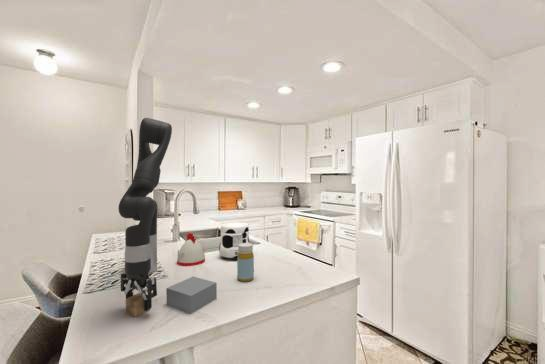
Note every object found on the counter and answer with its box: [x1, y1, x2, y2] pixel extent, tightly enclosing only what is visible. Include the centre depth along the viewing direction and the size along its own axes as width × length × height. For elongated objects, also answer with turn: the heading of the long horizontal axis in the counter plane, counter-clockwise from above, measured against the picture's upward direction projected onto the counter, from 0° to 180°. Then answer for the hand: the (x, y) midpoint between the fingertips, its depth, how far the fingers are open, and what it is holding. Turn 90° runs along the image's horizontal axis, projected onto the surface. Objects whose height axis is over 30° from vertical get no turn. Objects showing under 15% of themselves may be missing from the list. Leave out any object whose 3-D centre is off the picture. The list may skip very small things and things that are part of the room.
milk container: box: [218, 221, 250, 260], centre depth 141 cm, size 17×17×18 cm
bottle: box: [236, 242, 255, 283], centre depth 109 cm, size 7×7×15 cm
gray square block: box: [166, 276, 218, 314], centre depth 90 cm, size 12×12×6 cm
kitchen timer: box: [176, 232, 206, 267], centre depth 132 cm, size 14×14×15 cm
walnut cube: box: [125, 292, 150, 318], centre depth 82 cm, size 5×5×5 cm
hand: (138, 307), depth 82 cm, fingers open, 8 cm apart
